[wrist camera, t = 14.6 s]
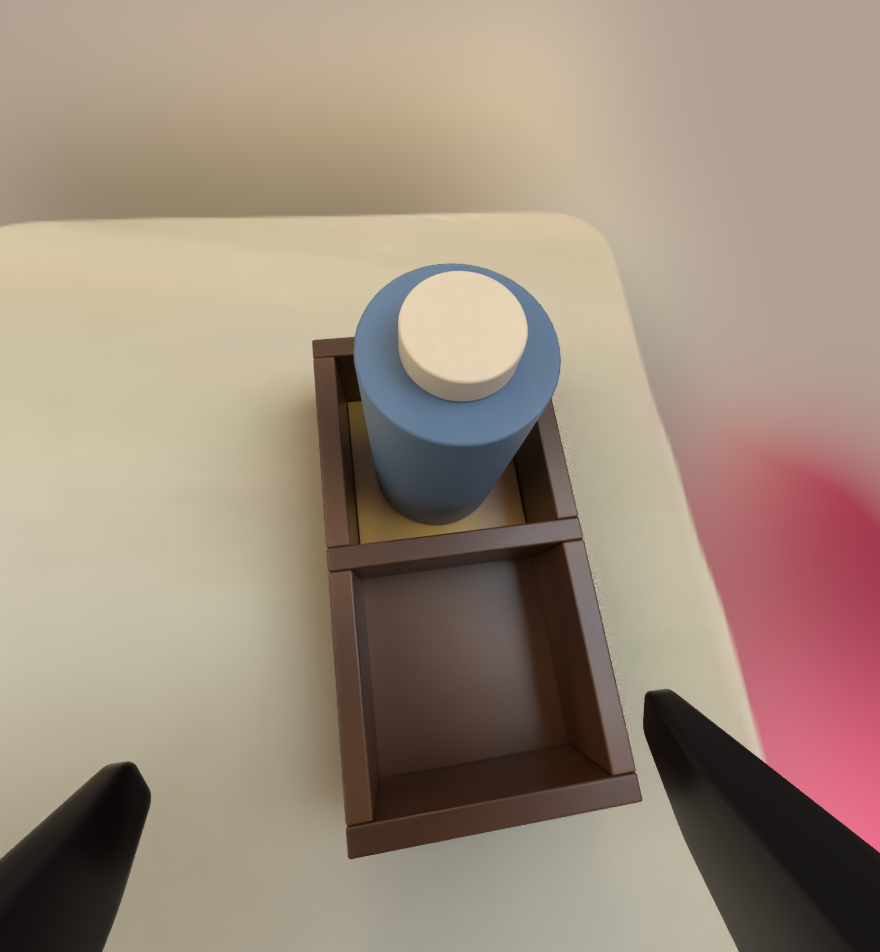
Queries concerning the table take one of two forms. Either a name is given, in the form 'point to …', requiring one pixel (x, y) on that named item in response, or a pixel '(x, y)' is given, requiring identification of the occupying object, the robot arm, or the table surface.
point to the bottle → (451, 385)
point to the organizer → (463, 645)
